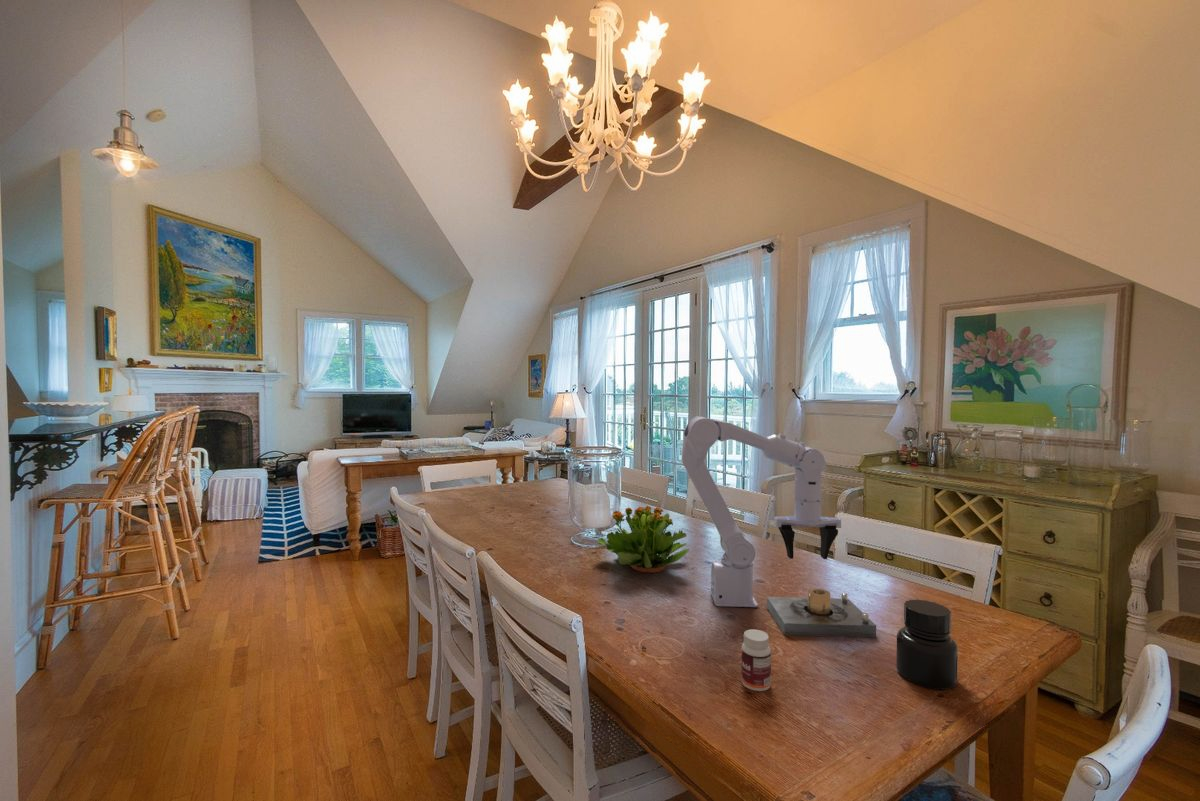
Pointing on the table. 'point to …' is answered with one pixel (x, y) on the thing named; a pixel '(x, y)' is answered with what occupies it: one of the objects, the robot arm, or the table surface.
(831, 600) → the jig
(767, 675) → the pill bottle
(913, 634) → the ink bottle
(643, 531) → the potted flower
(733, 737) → the table surface
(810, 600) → the bushing
